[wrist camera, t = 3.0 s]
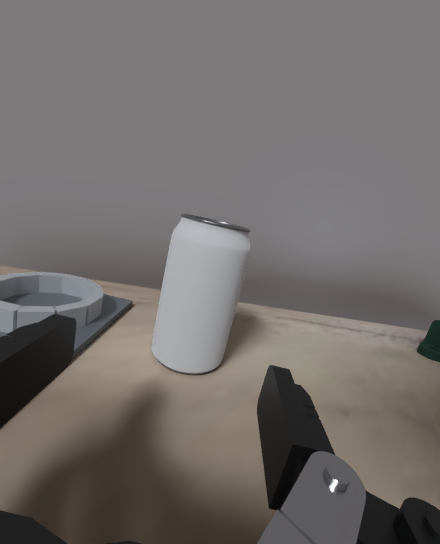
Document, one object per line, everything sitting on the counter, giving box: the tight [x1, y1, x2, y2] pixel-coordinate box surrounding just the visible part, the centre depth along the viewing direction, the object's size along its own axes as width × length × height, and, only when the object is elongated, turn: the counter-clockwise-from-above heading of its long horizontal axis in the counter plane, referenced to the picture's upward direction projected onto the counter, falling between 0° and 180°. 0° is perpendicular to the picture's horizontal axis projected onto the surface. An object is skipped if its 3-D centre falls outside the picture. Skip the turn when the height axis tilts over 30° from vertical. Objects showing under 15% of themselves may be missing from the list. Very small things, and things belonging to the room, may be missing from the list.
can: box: [152, 214, 251, 375], centre depth 21 cm, size 6×6×12 cm
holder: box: [0, 272, 132, 358], centre depth 20 cm, size 12×18×2 cm, turn 177°
